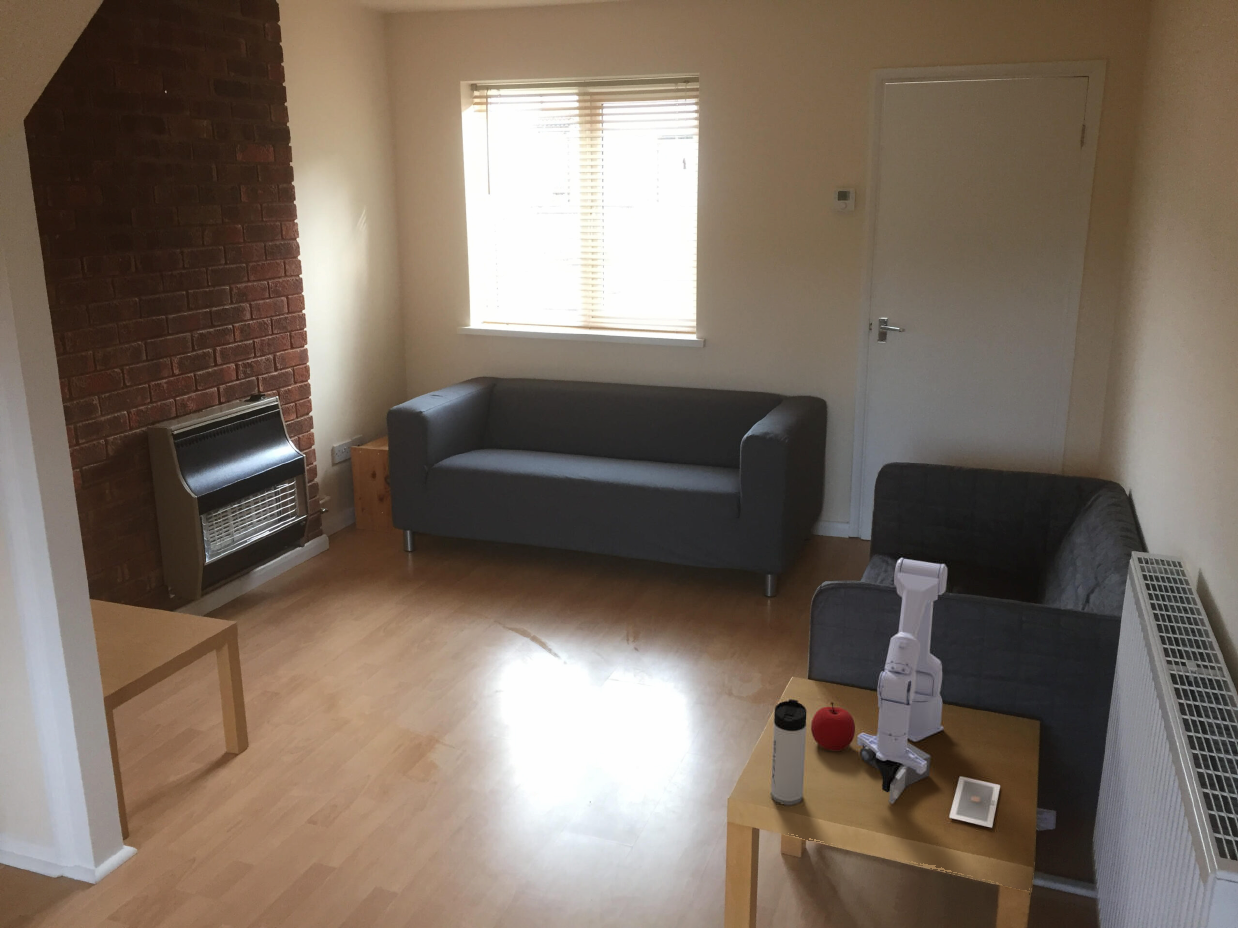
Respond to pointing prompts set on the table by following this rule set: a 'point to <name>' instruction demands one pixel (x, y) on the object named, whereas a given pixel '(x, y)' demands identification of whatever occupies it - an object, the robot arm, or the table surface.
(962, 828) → the table surface
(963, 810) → the touchpad
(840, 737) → the apple
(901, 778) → the door
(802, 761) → the travel mug
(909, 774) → the camera body
